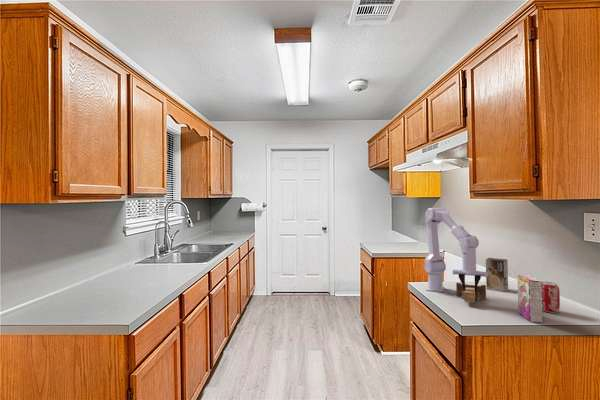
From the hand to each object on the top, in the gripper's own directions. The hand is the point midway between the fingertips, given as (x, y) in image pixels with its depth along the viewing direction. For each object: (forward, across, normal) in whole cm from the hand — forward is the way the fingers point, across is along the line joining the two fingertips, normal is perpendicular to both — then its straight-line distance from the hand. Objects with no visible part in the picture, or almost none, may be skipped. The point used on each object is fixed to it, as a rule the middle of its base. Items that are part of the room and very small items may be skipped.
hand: (469, 290), depth 163 cm
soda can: (+6, +30, 0) cm, 31 cm away
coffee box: (+6, +12, +31) cm, 33 cm away
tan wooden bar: (+4, 0, 0) cm, 4 cm away
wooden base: (+5, 0, +7) cm, 9 cm away
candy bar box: (+6, +22, -13) cm, 27 cm away
